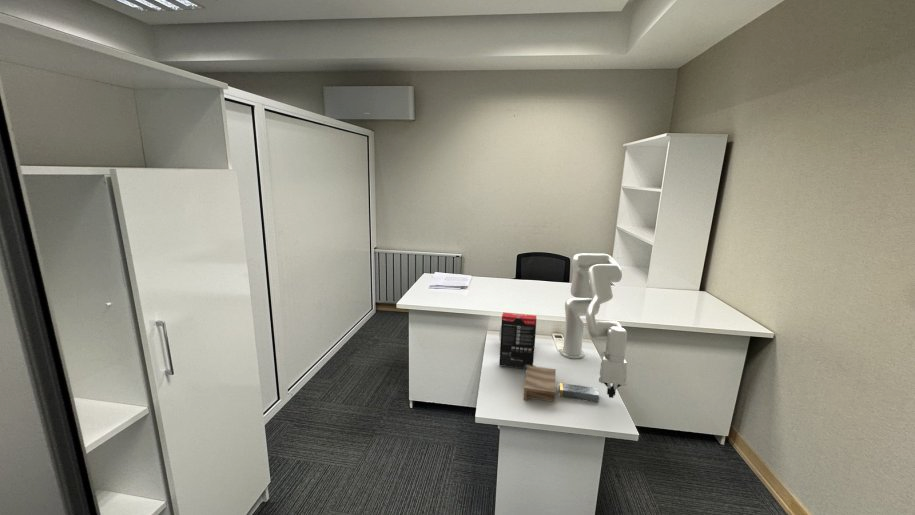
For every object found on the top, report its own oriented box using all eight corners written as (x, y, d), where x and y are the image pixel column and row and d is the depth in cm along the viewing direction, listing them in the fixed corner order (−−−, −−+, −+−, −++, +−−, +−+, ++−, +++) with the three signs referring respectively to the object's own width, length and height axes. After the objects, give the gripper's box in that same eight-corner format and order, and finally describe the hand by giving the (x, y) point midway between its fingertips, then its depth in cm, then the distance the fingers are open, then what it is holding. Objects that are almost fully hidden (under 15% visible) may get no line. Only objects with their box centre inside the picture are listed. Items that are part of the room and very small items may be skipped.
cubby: (526, 377, 179) (527, 365, 178) (554, 381, 176) (555, 369, 174) (523, 400, 160) (524, 387, 159) (554, 405, 157) (555, 392, 155)
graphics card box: (533, 364, 191) (536, 313, 186) (533, 370, 185) (536, 318, 179) (500, 360, 195) (502, 311, 189) (498, 367, 188) (501, 315, 182)
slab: (596, 395, 165) (597, 387, 164) (598, 402, 159) (599, 395, 158) (559, 389, 168) (559, 382, 168) (559, 397, 163) (560, 389, 162)
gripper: (596, 357, 154) (593, 398, 158) (635, 362, 151) (631, 403, 154) (595, 350, 162) (591, 389, 165) (632, 354, 158) (627, 394, 161)
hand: (610, 396), depth 160 cm, fingers closed
